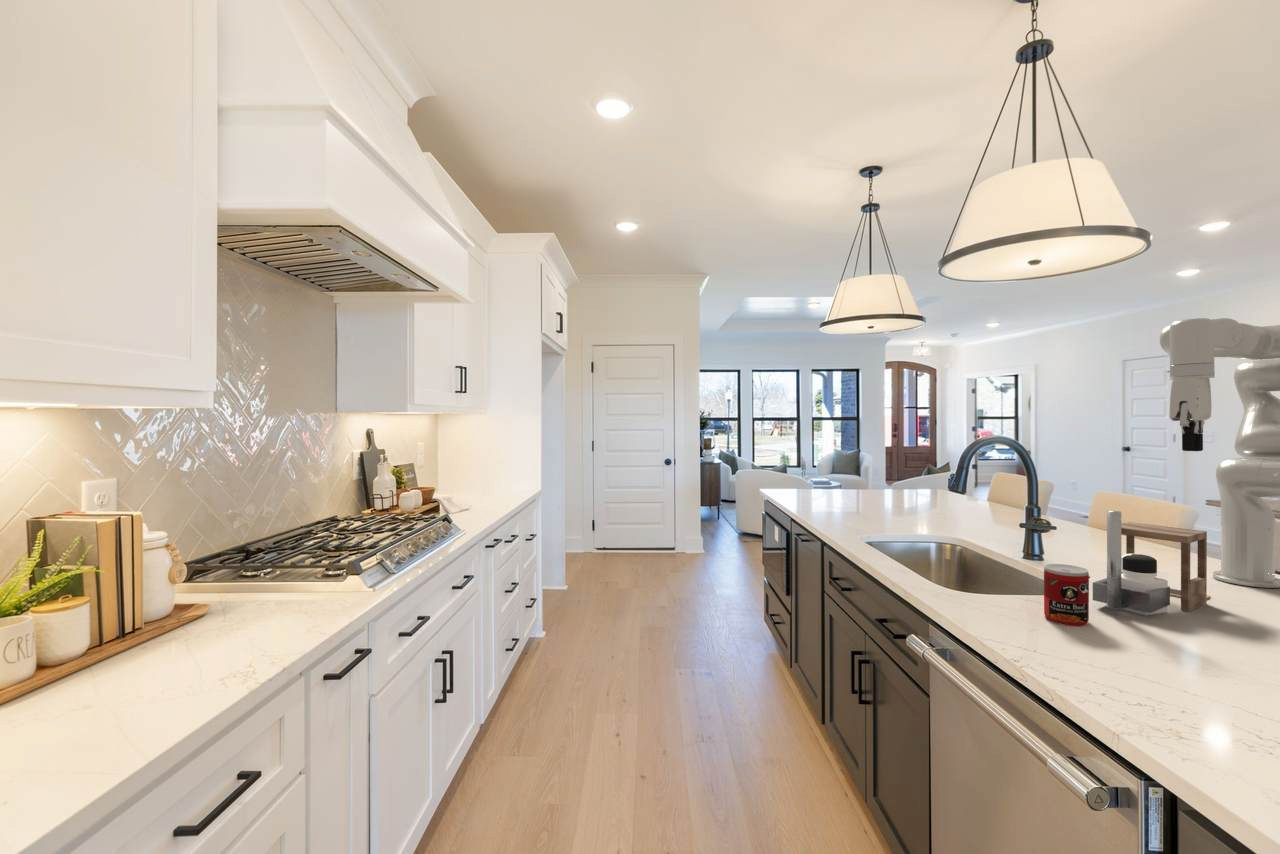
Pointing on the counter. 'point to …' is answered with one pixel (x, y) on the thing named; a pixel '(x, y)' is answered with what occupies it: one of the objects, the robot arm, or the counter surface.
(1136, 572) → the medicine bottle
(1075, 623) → the canned food
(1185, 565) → the walnut tunnel
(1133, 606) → the grey metal post stand
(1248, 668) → the counter surface
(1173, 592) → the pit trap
